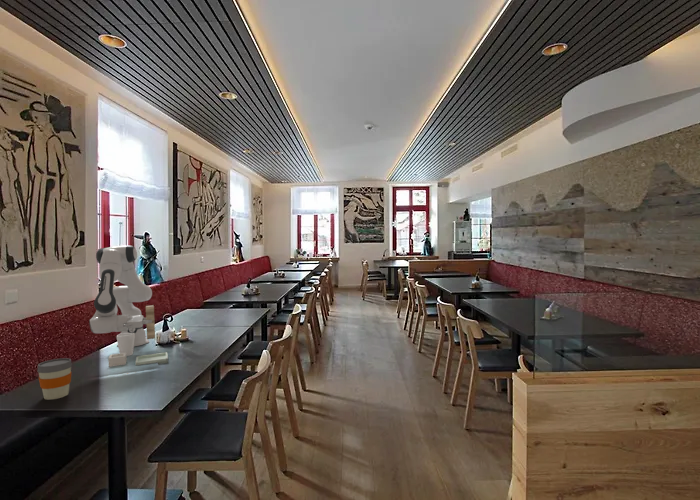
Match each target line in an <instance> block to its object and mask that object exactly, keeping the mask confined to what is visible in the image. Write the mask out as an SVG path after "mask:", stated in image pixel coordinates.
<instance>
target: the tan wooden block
mask: <svg viewBox="0 0 700 500" xmlns="http://www.w3.org/2000/svg"><path fill="white" fill-rule="evenodd" d="M145 318H146V320H149V319H152V323H148V324H145V325H146V338H147V339H148V340H152V339H156V328H155V325H156V323H155V306H154V304H152V305H145Z"/></svg>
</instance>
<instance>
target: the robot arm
mask: <svg viewBox="0 0 700 500" xmlns="http://www.w3.org/2000/svg"><path fill="white" fill-rule="evenodd" d="M95 253H96V255H95V258H96V262H97V264H99V278H100V284H99V291H98V294H97V296H95V299H94V300H93V305H94V306H93V307H94V309H96V311H95V313H94V314H93V316H92V317H91V318H90V319H89V321H88V322H89V323H88V325H89V328H90V331H91V332H92V333H93V334H107V333H108V334H109V333H111V332H114V333H115V332H116V333H118V332H120V333H119V334H123V333H135V338H134V347H139V346H142V345H143V346H144V345H145V344H150V339H147V332H146V330H145V329H144V325H146V324H148V323H152V319H149V320H146V317H144V315H142V311H141V309H140V308H138V307H136V306H135V305H134V304H133V303H142V302H143V303H144V302H146V301H149V300H151V298H152V296H153V290H152V288H151V287H150V285H146V284H145V283H144V282H143V281H141V279H140V278H139V276H138V274H137V271H136V267H135V263H134V262H135V261H136V260H137V258H138V252H137V248H136V247H135V246H134V245H130V244H129V245H116V246H109V247H103V248H102V247H101V248H99V249H98V250H97V251H96V252H95ZM116 281H118V282H119V283H120V284H123V285H119V286H115V287H114V284H115V282H116ZM118 308H119V309H120V312H121V314H119V315H118V311H119V309H118ZM116 347H118V344H117V345H116Z"/></svg>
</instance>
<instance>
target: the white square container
mask: <svg viewBox="0 0 700 500" xmlns="http://www.w3.org/2000/svg"><path fill="white" fill-rule="evenodd" d="M107 360H108V367H117V366H123V365H124V366H125V365H127V361H128V356H127V354H126V353H120V352H119V353H113V354H109V356H108V359H107Z"/></svg>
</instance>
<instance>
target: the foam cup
mask: <svg viewBox="0 0 700 500" xmlns="http://www.w3.org/2000/svg"><path fill="white" fill-rule="evenodd" d="M134 338H135V333H123V334H120V333H119V334H117V335H116V340H117V345H118V346H117V347H118V351H119V354H120V353H126V354H127V357H131V356H132V355H133V354H134V348H135V346H134Z"/></svg>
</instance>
